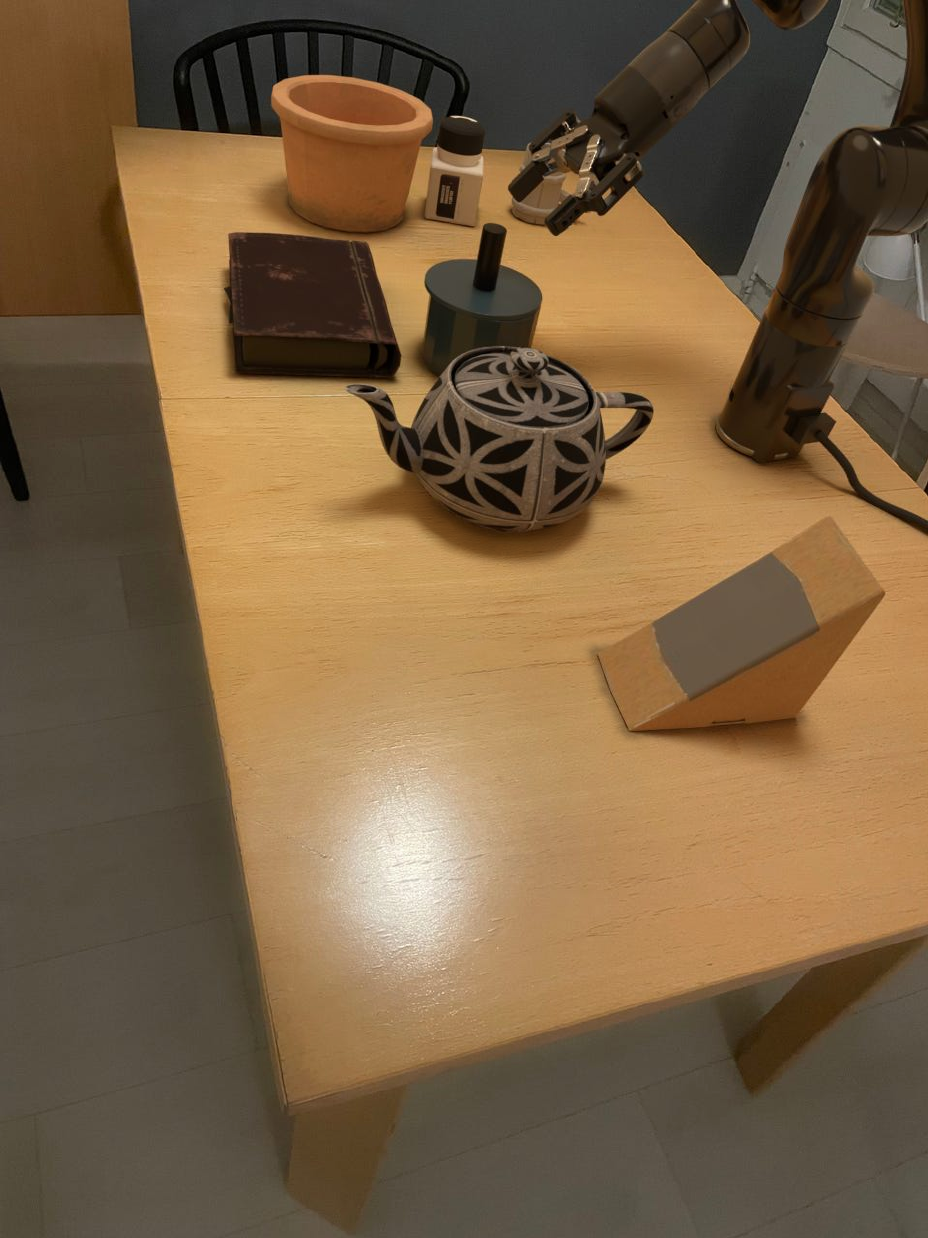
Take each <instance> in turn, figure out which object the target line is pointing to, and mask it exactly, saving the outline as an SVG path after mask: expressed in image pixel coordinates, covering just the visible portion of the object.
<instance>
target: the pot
mask: <svg viewBox="0 0 928 1238" xmlns="http://www.w3.org/2000/svg"><path fill="white" fill-rule="evenodd" d="M541 308H542V306H541V307H540V308H539V310H538V311H537V312H536V313H534V314H533V315H531V316H529V317H526V318H523V319H518V320H510V321H494V320H485V319H479V318H475V317H470V316H467V315H464V314H461V313H458V312H455V311H453V310H451V309H449V308H447V307H445V306H443V305H442V304H440V303H439V302H437V301H436V300H435V299H434V298H432V296H431V295H430V294H429V296H428V304H427V311H426V317H425V325H424V331H423V333H424V334H423V339H422V352H421V357H422V361H423V363H424V365H425V366H426V367H427V369H428V370H429V371H430V372H432V374H434V375H435V376H437V377H438V378H439V377H440V376H441V374H442V373H443V372H444V371H445V369H446V368H447V367H448V366H449V364H450V363H451V362H452V361H453V360H454V359H455V358H457V357H458V356H460V355H462V354H464V353H466V352H468V351H471V350H474V349H478V348H484V347H493V346H507V347H518V348H519V347H529V348H533V342H534V339H535V333H536V330H537V325H538V321H539V317H540V312H541Z"/></svg>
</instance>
